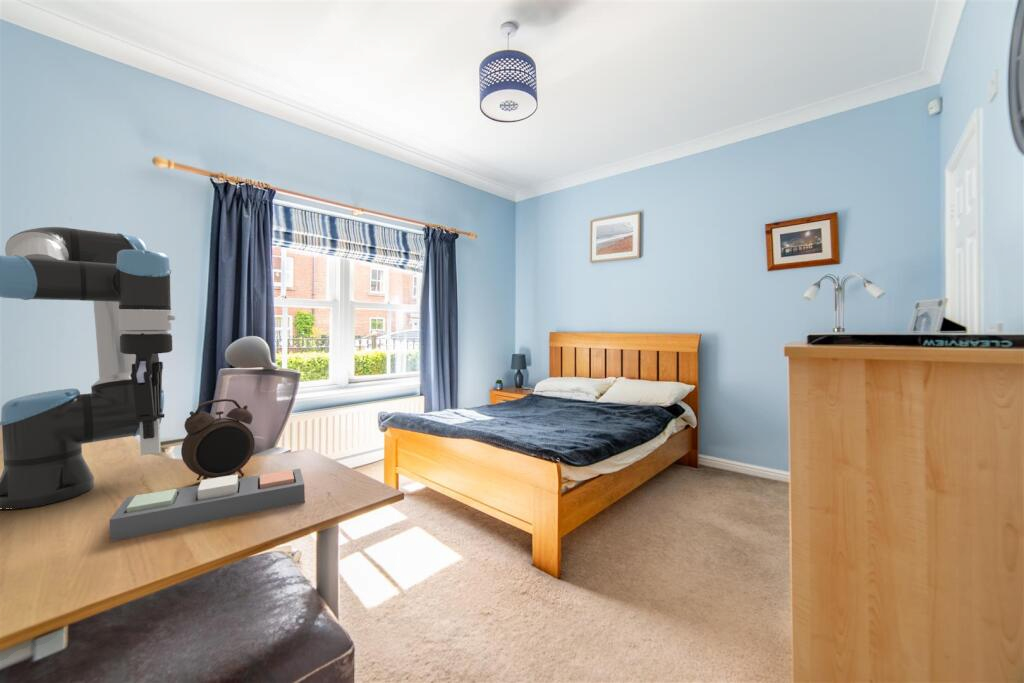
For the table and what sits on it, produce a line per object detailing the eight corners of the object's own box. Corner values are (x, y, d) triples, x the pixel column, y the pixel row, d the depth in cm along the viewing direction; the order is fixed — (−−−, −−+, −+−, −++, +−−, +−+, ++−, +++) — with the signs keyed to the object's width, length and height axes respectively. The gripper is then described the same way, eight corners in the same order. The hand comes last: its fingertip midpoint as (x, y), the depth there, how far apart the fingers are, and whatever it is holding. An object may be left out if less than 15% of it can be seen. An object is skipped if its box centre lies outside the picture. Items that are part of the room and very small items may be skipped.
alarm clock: (190, 492, 94) (187, 406, 94) (180, 485, 99) (177, 402, 98) (259, 474, 106) (257, 397, 105) (248, 468, 110) (245, 394, 110)
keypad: (127, 516, 83) (126, 497, 82) (300, 484, 99) (300, 468, 99) (110, 541, 73) (109, 519, 73) (304, 502, 89) (304, 484, 89)
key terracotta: (260, 488, 92) (259, 475, 92) (292, 482, 96) (292, 469, 96) (260, 498, 87) (259, 484, 87) (294, 491, 90) (294, 478, 90)
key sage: (136, 510, 81) (135, 495, 81) (177, 503, 85) (176, 488, 85) (127, 523, 76) (126, 507, 76) (171, 515, 79) (171, 500, 79)
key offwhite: (202, 493, 87) (201, 480, 87) (238, 487, 90) (237, 474, 90) (198, 505, 81) (197, 490, 81) (236, 498, 85) (236, 483, 85)
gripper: (165, 333, 75) (169, 460, 77) (177, 331, 86) (180, 441, 88) (109, 334, 71) (114, 467, 73) (129, 331, 82) (134, 447, 84)
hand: (150, 453), depth 80 cm, fingers closed
